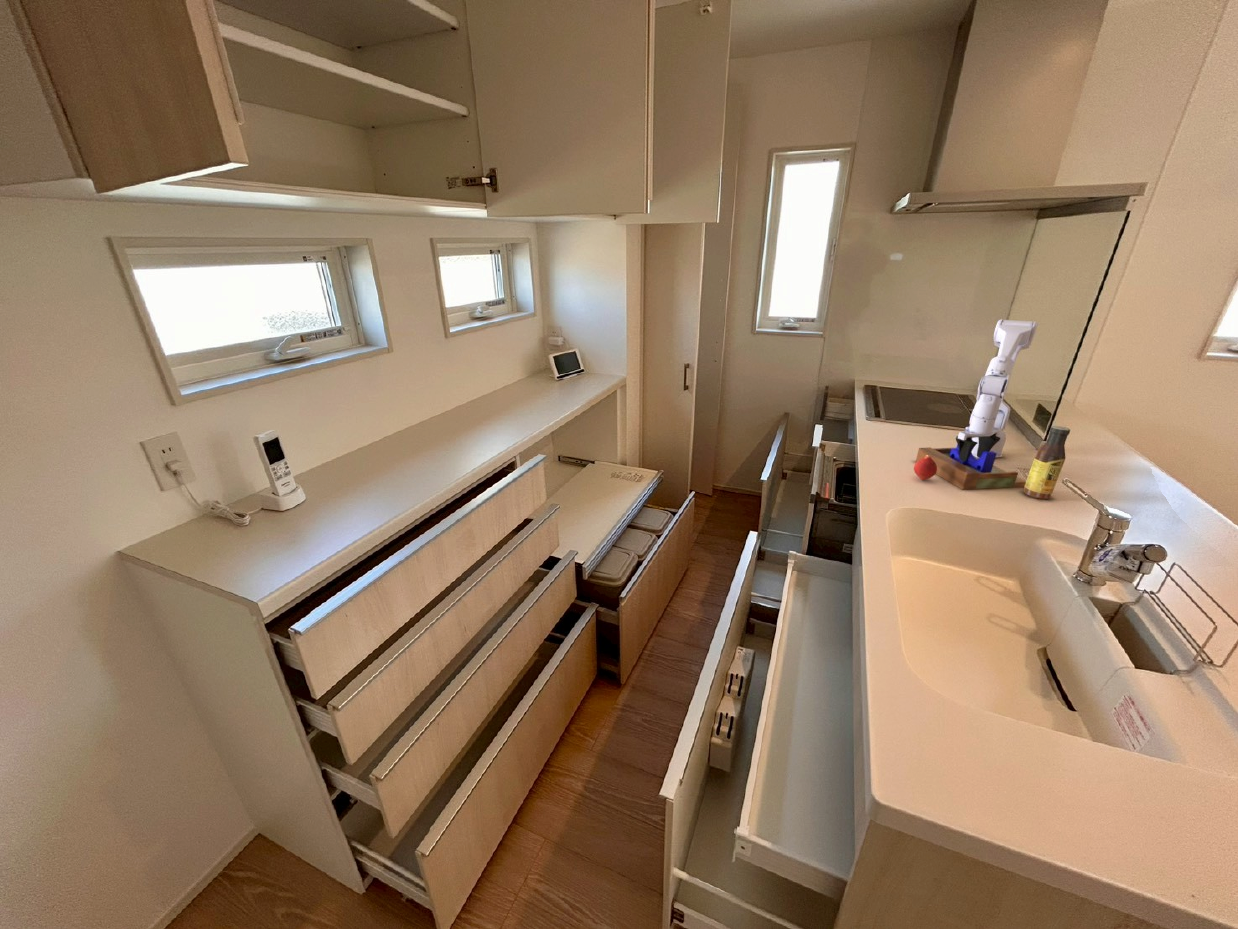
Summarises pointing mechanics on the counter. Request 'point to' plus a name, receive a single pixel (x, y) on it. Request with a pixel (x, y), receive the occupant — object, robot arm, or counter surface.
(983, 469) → the cable clip
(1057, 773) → the counter surface
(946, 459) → the wooden serving tray
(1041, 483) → the sauce bottle
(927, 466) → the onion
